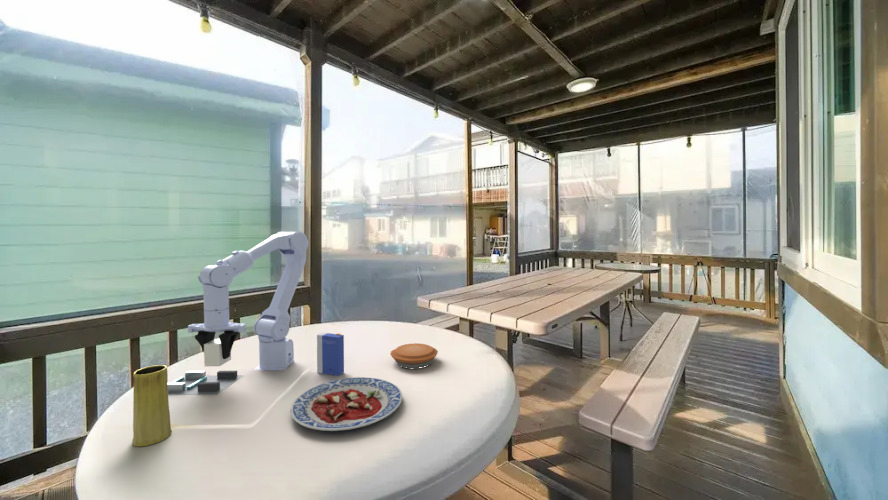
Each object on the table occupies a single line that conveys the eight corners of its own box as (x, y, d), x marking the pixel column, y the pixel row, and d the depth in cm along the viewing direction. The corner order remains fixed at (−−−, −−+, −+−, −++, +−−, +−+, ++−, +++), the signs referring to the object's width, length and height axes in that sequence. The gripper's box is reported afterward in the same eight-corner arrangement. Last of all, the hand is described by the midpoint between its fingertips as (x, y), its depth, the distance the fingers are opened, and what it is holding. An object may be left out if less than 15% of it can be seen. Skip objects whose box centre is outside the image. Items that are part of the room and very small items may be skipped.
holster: (237, 377, 98) (237, 370, 97) (217, 391, 89) (216, 384, 88) (219, 377, 97) (219, 370, 97) (197, 391, 88) (197, 384, 88)
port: (209, 377, 97) (209, 370, 97) (186, 391, 88) (186, 384, 88) (184, 377, 97) (184, 371, 97) (158, 392, 88) (158, 384, 88)
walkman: (344, 372, 103) (343, 333, 102) (338, 376, 100) (338, 336, 100) (323, 369, 105) (322, 331, 105) (316, 372, 103) (316, 333, 102)
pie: (446, 360, 113) (446, 345, 113) (419, 376, 100) (419, 359, 100) (410, 351, 122) (410, 338, 122) (380, 365, 109) (380, 350, 108)
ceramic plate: (294, 454, 64) (294, 438, 64) (287, 397, 87) (287, 386, 87) (418, 420, 76) (418, 407, 76) (384, 378, 99) (384, 368, 99)
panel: (243, 377, 99) (243, 375, 99) (217, 396, 87) (217, 394, 87) (188, 377, 99) (188, 375, 99) (154, 397, 87) (154, 394, 87)
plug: (231, 359, 95) (230, 338, 95) (219, 366, 90) (219, 344, 90) (216, 359, 95) (216, 338, 95) (204, 366, 90) (203, 344, 90)
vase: (178, 432, 71) (176, 366, 70) (144, 450, 65) (142, 377, 65) (159, 427, 73) (157, 362, 72) (124, 443, 67) (122, 373, 67)
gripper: (178, 312, 88) (180, 363, 89) (234, 312, 88) (235, 362, 89) (197, 306, 95) (199, 354, 96) (249, 306, 95) (250, 353, 96)
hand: (218, 357), depth 93 cm, fingers closed on plug, 4 cm apart
